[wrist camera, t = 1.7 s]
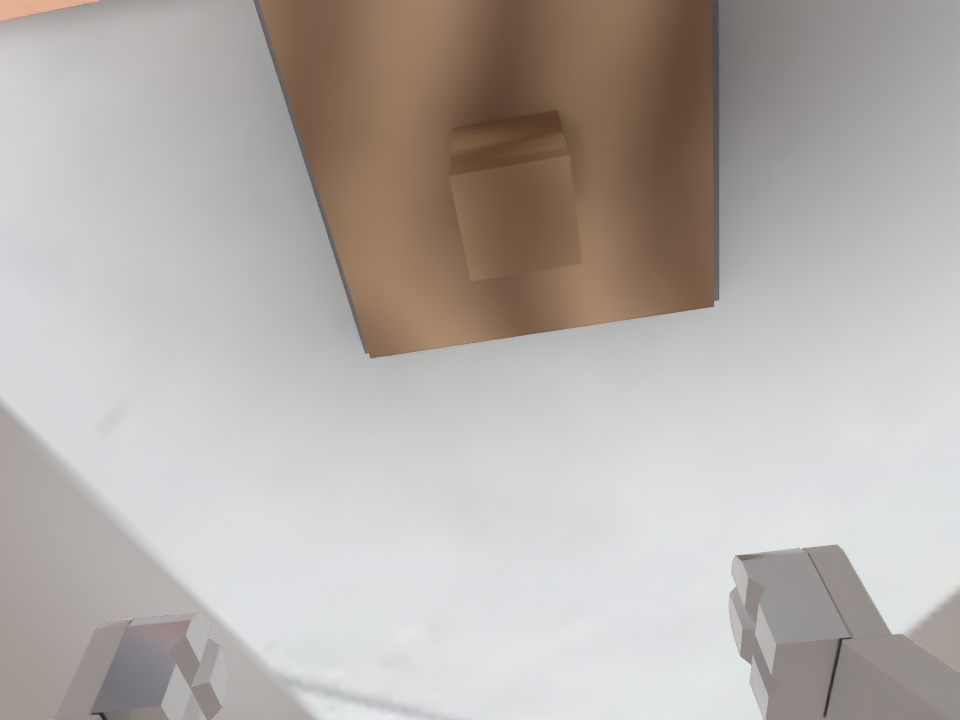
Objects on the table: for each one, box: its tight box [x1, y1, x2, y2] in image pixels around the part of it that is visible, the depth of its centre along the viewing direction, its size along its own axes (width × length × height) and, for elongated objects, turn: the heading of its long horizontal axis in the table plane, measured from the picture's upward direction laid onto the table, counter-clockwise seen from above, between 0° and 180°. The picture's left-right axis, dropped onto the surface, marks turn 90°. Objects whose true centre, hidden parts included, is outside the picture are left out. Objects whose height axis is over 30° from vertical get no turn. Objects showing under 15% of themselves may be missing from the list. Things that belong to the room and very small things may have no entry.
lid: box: [259, 0, 714, 358], centre depth 26 cm, size 14×14×6 cm
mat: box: [254, 0, 719, 354], centre depth 29 cm, size 15×15×1 cm
